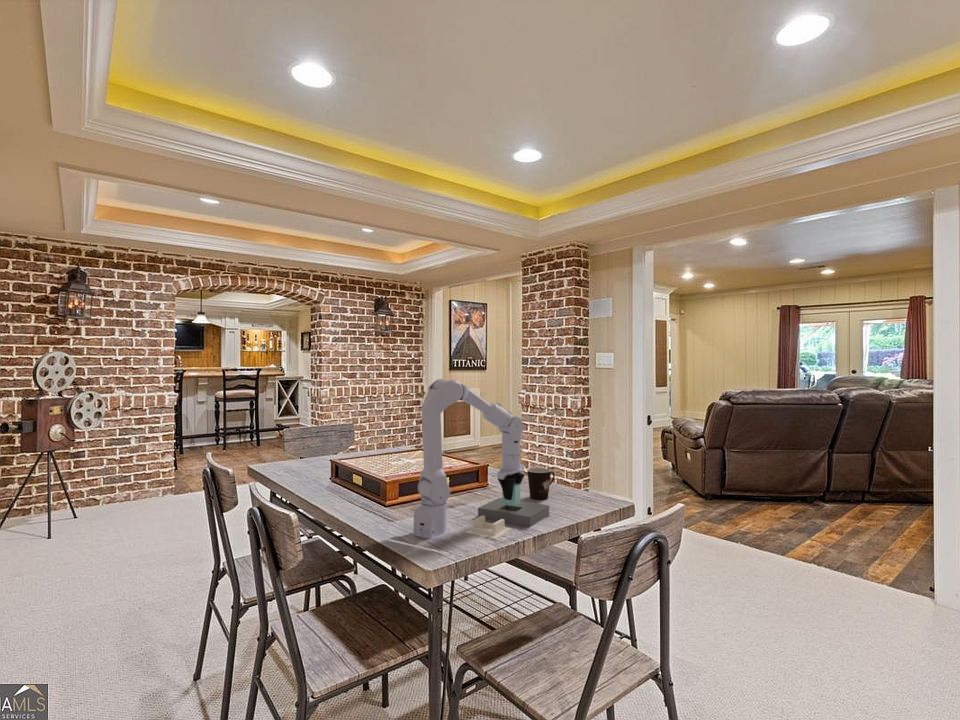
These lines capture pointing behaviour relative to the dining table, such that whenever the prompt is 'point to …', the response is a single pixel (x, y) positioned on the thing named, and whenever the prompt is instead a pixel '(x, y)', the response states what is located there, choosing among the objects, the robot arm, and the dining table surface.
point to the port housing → (514, 512)
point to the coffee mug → (539, 482)
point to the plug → (513, 496)
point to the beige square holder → (488, 528)
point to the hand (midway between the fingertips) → (511, 498)
